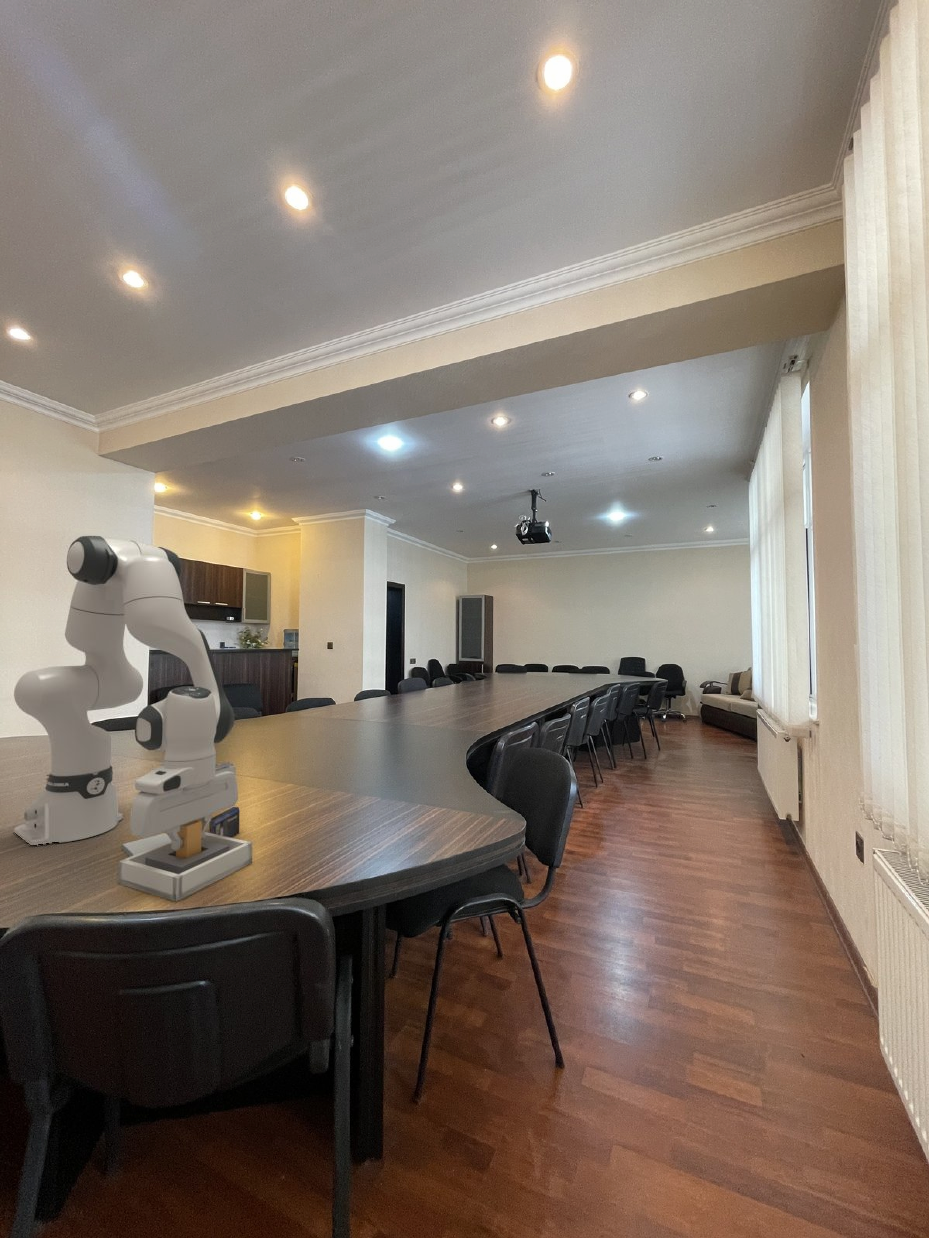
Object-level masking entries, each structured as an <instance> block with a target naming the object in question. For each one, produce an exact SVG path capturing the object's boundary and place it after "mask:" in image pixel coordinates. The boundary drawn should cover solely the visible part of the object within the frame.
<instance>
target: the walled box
mask: <svg viewBox="0 0 929 1238" xmlns="http://www.w3.org/2000/svg"><path fill="white" fill-rule="evenodd" d="M250 864H251V865H252V864H253V842H252V841H248V840H244V839H238V838H235V837H232V838H230V837H225V836H221V835H216V834H212V833H209V832H207V831H205V839H202V840H201V852H200V853H198V854H196V855H193V856H191V857H189V858H187V859H183V858H179V857H176V850H173V849H172V848H171V841H169V842H167V843H164V844H162V845H159V846H157V847H154V848H152V849H149V850H146V851H144V852H141V853H139V854H136V855H134V856H131V857H130V856H128V857H126V858H124V859H120V860H118V868H117V869H118V871H117V872H118V873H117V874H118V875H117V877H118V878H117V884H118V885H121V886H124V887H126V888H127V887H128V888H131V889H134V890H137V891H139V892H140V891H141V892H143V893H147V894H149V895H153V896H156V897H159V898H163V899H166V900H169V901H171V902H175V903H177V902H179V901H181V900H183V899H185V898H187V897H188V896H191V895H193V894H195V893H197V892H198V891H200V890H202V889H204V888H207V887H208V886H210V885H213V884H214V883H216V882H217V881H220V880H222V879H224V878H226V877H227V876H229V875H232V874H233V873H236V872H238V871H239V870H241V869H243V868H245V867H247V866H249V865H250Z"/></svg>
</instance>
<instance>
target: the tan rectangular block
mask: <svg viewBox="0 0 929 1238" xmlns="http://www.w3.org/2000/svg"><path fill="white" fill-rule="evenodd" d="M177 834H178V835H179V837H181V838H185V842H184V847H183V848H181V849H179V850H176V857H179V858H183V859H187V858H189V857H191V856H193V855H196V854H198V853H200V852H201V834H202V821H200V820H198V819H197V820H194V821H192V822H189V823H186V824H184V825H181V826H180V831H179V832H177Z"/></svg>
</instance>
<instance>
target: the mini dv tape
mask: <svg viewBox="0 0 929 1238" xmlns="http://www.w3.org/2000/svg"><path fill="white" fill-rule="evenodd" d="M208 833H212V834H216V835H221V836H225V837H230V838H234V837H236V836H238V835H239V834H240V807H239V806H232V807H230V808H227V809H225V811H223V812H220V813H218V814H217V815H214V816H213V817H211V821H210V823H209V825H208ZM233 836H234V837H233Z"/></svg>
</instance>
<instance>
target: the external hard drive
mask: <svg viewBox="0 0 929 1238" xmlns="http://www.w3.org/2000/svg"><path fill="white" fill-rule="evenodd" d="M169 841H171V839H170V838H169V837H168V835H167V834H166V832H165V833H164V832H163V833H159V834H156V835H154V836H151V837H148V838H140V839H138V840H133V841H130V842H125V843H122V844H121V849H123V850H122V851H123V852H124V853H125V854H127V855H128V857H131V856H134V855H136V854H139V853H141V852H144V851H146V850H149V849H152V848H154V847H157V846H159V845H162V844H164V843H167V842H169Z"/></svg>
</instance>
